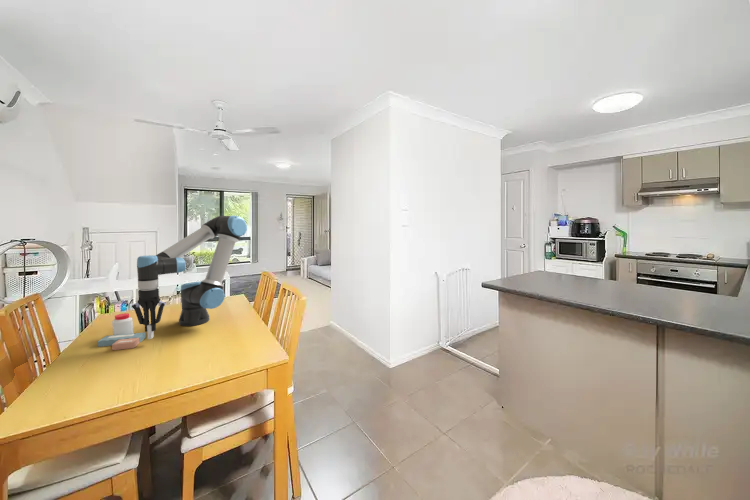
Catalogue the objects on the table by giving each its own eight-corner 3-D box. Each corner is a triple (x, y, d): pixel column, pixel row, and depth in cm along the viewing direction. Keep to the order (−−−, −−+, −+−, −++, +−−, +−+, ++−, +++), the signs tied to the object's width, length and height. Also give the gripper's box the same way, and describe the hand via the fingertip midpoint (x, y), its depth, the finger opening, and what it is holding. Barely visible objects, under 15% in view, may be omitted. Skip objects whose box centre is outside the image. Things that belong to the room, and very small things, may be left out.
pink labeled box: (139, 342, 140) (139, 337, 139) (133, 348, 134) (133, 342, 134) (119, 344, 137) (118, 339, 137) (112, 350, 131) (111, 344, 131)
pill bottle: (137, 334, 150) (135, 313, 148) (119, 340, 142) (118, 318, 141) (127, 332, 152) (125, 311, 151) (109, 337, 145) (107, 316, 144)
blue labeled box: (146, 337, 146) (145, 332, 146) (139, 342, 140) (139, 337, 140) (106, 340, 141) (106, 335, 141) (98, 346, 135) (97, 341, 134)
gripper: (167, 286, 142) (169, 333, 144) (135, 287, 137) (137, 336, 139) (162, 289, 134) (164, 339, 137) (127, 291, 130) (130, 342, 132)
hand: (150, 337), depth 138 cm, fingers closed
